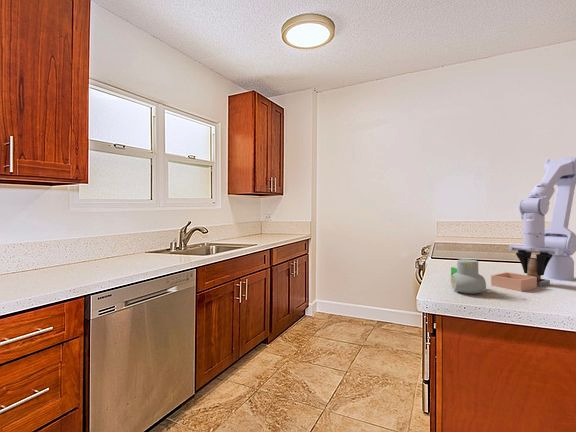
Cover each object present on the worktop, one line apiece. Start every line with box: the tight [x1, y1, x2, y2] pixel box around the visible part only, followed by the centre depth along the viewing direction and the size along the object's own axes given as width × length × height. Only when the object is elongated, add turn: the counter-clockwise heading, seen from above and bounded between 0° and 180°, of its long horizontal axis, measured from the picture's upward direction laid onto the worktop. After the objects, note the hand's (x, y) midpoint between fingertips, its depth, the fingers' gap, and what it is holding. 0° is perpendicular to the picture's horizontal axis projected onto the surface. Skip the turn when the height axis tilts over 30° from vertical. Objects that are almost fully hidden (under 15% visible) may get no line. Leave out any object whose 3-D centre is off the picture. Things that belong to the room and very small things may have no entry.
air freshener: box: [450, 258, 487, 295], centre depth 102 cm, size 11×8×10 cm
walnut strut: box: [526, 257, 542, 282], centre depth 108 cm, size 4×4×8 cm
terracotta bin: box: [490, 271, 538, 293], centre depth 105 cm, size 9×9×4 cm
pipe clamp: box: [450, 266, 457, 277], centre depth 115 cm, size 11×4×5 cm, turn 173°
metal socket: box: [537, 278, 551, 288], centre depth 108 cm, size 6×6×2 cm
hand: (533, 274), depth 108 cm, fingers closed on walnut strut, 4 cm apart
